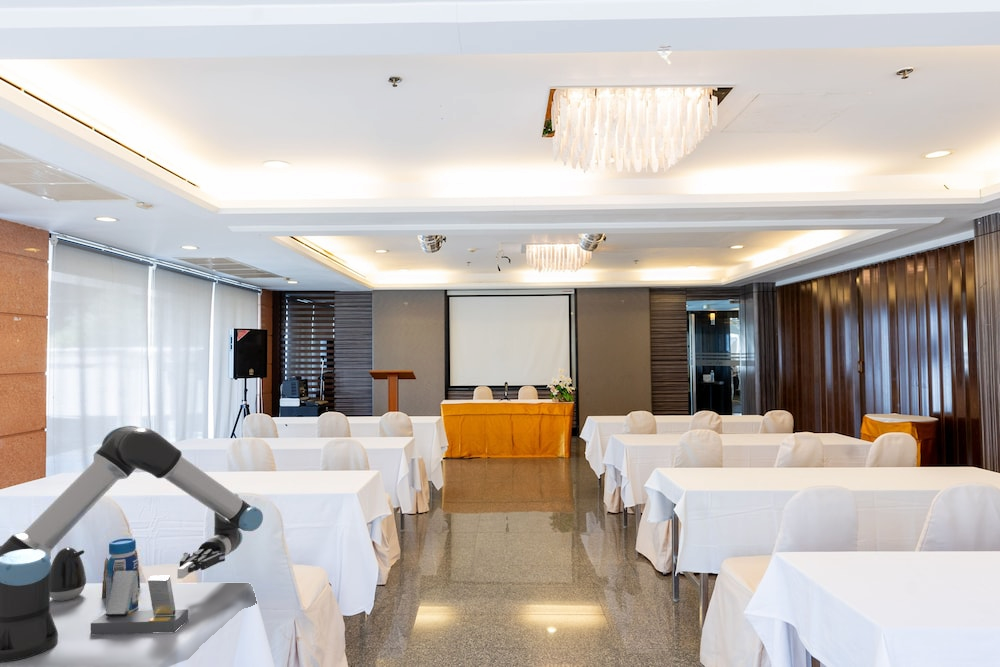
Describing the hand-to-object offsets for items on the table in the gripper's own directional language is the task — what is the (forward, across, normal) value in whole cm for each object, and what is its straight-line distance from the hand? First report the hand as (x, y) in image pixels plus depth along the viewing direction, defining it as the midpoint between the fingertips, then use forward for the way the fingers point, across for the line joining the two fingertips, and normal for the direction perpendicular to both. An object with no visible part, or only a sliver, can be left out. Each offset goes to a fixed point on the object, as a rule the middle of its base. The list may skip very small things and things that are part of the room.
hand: (180, 573), depth 186 cm
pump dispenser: (-15, +41, -12) cm, 46 cm away
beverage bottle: (-4, +18, -12) cm, 22 cm away
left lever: (+9, +13, -8) cm, 18 cm away
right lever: (+9, 0, -8) cm, 12 cm away
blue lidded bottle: (-19, +27, -12) cm, 35 cm away
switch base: (+8, +6, -12) cm, 16 cm away
